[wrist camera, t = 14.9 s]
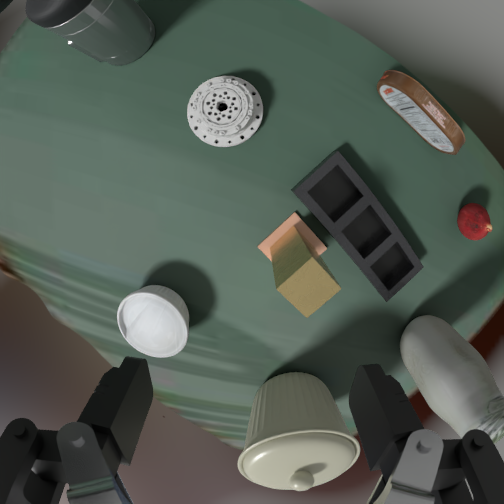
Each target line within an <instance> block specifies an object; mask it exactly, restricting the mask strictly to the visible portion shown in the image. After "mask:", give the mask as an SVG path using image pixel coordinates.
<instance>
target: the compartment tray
mask: <svg viewBox="0 0 504 504" xmlns="http://www.w3.org/2000/svg"><path fill="white" fill-rule="evenodd" d="M291 190H292V192H293V193H294V194H295V195H296V196H297V197H298V198H299V199H300V200H301V201H302V202H303V204H304V205H305V206H306V207H307V208H308V209H309V210H310V211H311V212H312V214H313V215H314V216H315V217H316V218H317V219H318V220H319V221H320V223H321V224H322V225H323V226H324V227H325V228H326V229H327V231H328V232H329V233H330V234H331V235H332V236H333V238H334V239H335V240H336V241H337V242H338V243H339V245H340V246H341V247H342V248H343V249H344V250H345V252H346V253H347V254H348V255H349V256H350V258H351V259H352V260H353V261H354V262H355V264H356V265H357V266H358V267H359V269H360V270H361V271H362V272H363V273H364V275H365V276H366V277H367V278H368V280H369V281H370V282H371V283H372V285H373V286H374V287H375V288H376V290H377V291H378V292H379V294H380V295H381V296H382V297H383V298H384V299H385V301H386V302H387V301H388V300H389V299H390V298H391V297H393V296H394V295H395V294H396V293H397V292H398V291H399V290H400V289H401V288H402V287H403V286H405V285H406V284H407V283H408V282H409V281H410V280H411V279H412V278H413V277H414V276H415V275H416V274H417V273H418V272H419V271H420V270H421V269H422V268H423V265H422V264H421V262H420V260H419V259H418V257H417V256H416V254H415V253H414V251H413V250H412V248H411V246H410V245H409V243H408V242H407V240H406V239H405V237H404V236H403V234H402V233H401V232H400V230H399V229H398V227H397V226H396V224H395V223H394V222H393V220H392V219H391V217H390V216H389V214H388V213H387V212H386V210H385V209H384V208H383V206H382V205H381V204H380V202H379V201H378V200H377V198H376V197H375V196H374V194H373V193H372V192H371V190H370V189H369V188H368V187H367V185H366V184H365V183H364V181H363V180H362V179H361V178H360V176H359V175H358V174H357V173H356V171H355V170H354V169H353V168H352V167H351V165H350V164H349V163H348V162H347V161H346V159H345V158H344V157H343V156H342V155H341V154H340V152H339V151H333V152H332V153H331V154H330V155H329V156H328V157H326V158H325V159H324V160H323V161H322V162H321V163H320V164H319V165H318V166H317V167H315V168H314V169H313V170H312V171H311V172H310V173H309V174H308V175H307V176H306V177H305V178H303V179H302V180H301V181H300V182H299V183H298V184H297V185H296V186H295V187H294V188H293V189H291Z"/></svg>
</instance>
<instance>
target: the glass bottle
mask: <svg viewBox="0 0 504 504" xmlns="http://www.w3.org/2000/svg"><path fill="white" fill-rule="evenodd" d="M400 352H401V357H402V360H403V362H404V364H405V366H406V368H407V369H408V371H409V373H410V374H411V376H412V378H413V379H414V381H415V382H416V384H417V386H418V388H419V390H420V391H421V393H422V395H423V396H424V398H425V400H426V401H427V403H428V404H429V406H430V407H431V409H432V410H433V411H434V412H435V413H436V414H437V415H438V416H439V417H440V418H442V419H443V420H444V421H446V422H447V423H449V425H450V426H451V427H452V428H453V429H454V430H455V431H456V432H457V433H458V434H459V436H460V437H461V439H462V437H463V436H464V435H465V434H466V432H468V431H470V430H472V429H479V430H482V431H484V432H486V433H487V434H488V435H489V436H490V438H491V439H492V441H493V443H494V444H495V443H497V442H498V441H499V440H500V439H501V438H502V437H503V436H504V396H503V395H502V393H501V392H500V390H499V388H498V387H497V385H496V383H495V380H494V378H493V376H492V374H491V372H490V370H489V368H488V366H487V364H486V362H485V361H484V359H483V358H482V356H481V355H480V354H479V353H478V352H477V351H476V350H475V349H474V348H473V347H472V346H471V345H470V344H469V343H468V342H467V341H466V340H465V339H464V338H463V337H462V336H461V335H460V334H459V333H458V332H457V331H456V330H455V329H454V328H453V327H452V326H451V325H449V324H448V323H447V322H446V321H444V320H443V319H441V318H438V317H435V316H432V315H424V316H419V317H417V318H415V319H414V320H412V321H411V322H410V323H409V324H408V325H407V327H406V328H405V330H404V332H403V334H402V337H401V341H400Z"/></svg>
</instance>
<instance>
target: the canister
mask: <svg viewBox="0 0 504 504" xmlns="http://www.w3.org/2000/svg"><path fill="white" fill-rule="evenodd" d="M359 454H360V445H359V443H358V441H357V440H356V439H355V438H354V437H353V436H352V435H350V432H349V430H348V428H347V426H346V424H345V422H344V419H343V417H342V415H341V413H340V411H339V409H338V407H337V405H336V403H335V401H334V399H333V397H332V395H331V393H330V391H329V389H328V388H327V386H326V385H325V384H324V383H323V382H322V381H321V380H319V379H318V378H317V377H314V376H313V375H309V374H308V373H302V372H300V373H299V372H294V373H292V372H290V373H284V374H281V375H278V376H275V377H273V378H272V379H269V380H268V381H267V382H265V383H264V384H263V385H262V386H261V387H260V389H259V390H258V391H257V393H256V395H255V398H254V401H253V406H252V410H251V415H250V420H249V425H248V431H247V436H246V441H245V447H244V451H243V452H242V453H241V455H240V456H239V459H238V469H239V471H240V472H241V473H242V475H243V476H244V477H246V478H247V479H249V480H250V481H252V482H254V483H257V484H260V485H262V486H265V487H269V488H274V489H284V490H285V489H286V490H291V489H294V490H297V491H304V490H307V489H309V488H311V487H313V486H316V485H320V484H323V483H326V482H328V481H330V480H332V479H334V478H336V477H337V476H339V475H340V474H342V473H343V472H345V471H346V470H347V469H349V467H351V466H352V464H354V463H355V461H356V460H357V458H358V456H359Z"/></svg>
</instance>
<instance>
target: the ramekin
mask: <svg viewBox="0 0 504 504" xmlns="http://www.w3.org/2000/svg"><path fill="white" fill-rule="evenodd" d="M117 320H118V325H119V328H120V331H121V333H122V335H123V336H124V338H125V339H126V340H127V341H128V343H130V345H132V346H133V347H134V348H135V349H137V350H138V351H140V352H142V353H144V354H146V355H149V356H153V357H170V356H173V355H175V354H177V353H179V352H180V351H181V350H182V349H183V348H184V346H185V345H186V342H187V340H188V336H189V313H188V309H187V306H186V304H185V302H184V301H183V299H182V298H181V297H180V296H179V295H178V294H177V293H176V292H174V291H173V290H171V289H169V288H167V287H164V286H160V285H150V286H146V287H143V288H141V289H139V290H138V291H135V292H132V293H130V294H129V295H128V296H126V297H125V298H124V299H123V301H122V302H121V304H120V306H119V308H118V312H117Z"/></svg>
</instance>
